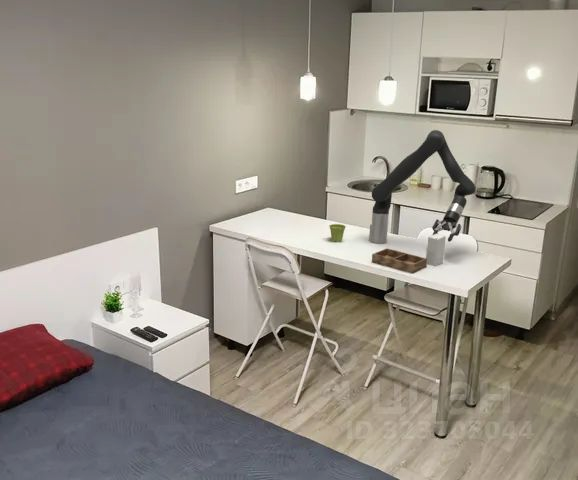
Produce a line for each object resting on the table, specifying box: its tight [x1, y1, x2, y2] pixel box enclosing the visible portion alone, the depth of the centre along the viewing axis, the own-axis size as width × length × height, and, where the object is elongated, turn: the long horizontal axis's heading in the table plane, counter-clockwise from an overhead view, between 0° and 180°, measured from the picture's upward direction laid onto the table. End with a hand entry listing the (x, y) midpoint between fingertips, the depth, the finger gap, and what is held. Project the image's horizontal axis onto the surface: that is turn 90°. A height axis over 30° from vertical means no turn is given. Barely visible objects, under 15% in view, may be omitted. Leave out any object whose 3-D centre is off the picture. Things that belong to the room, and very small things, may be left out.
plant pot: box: [328, 223, 346, 243], centre depth 350 cm, size 9×9×9 cm
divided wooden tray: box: [371, 247, 428, 274], centre depth 313 cm, size 24×14×4 cm, turn 49°
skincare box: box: [425, 233, 446, 267], centre depth 315 cm, size 8×6×15 cm
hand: (441, 239), depth 317 cm, fingers open, 8 cm apart
